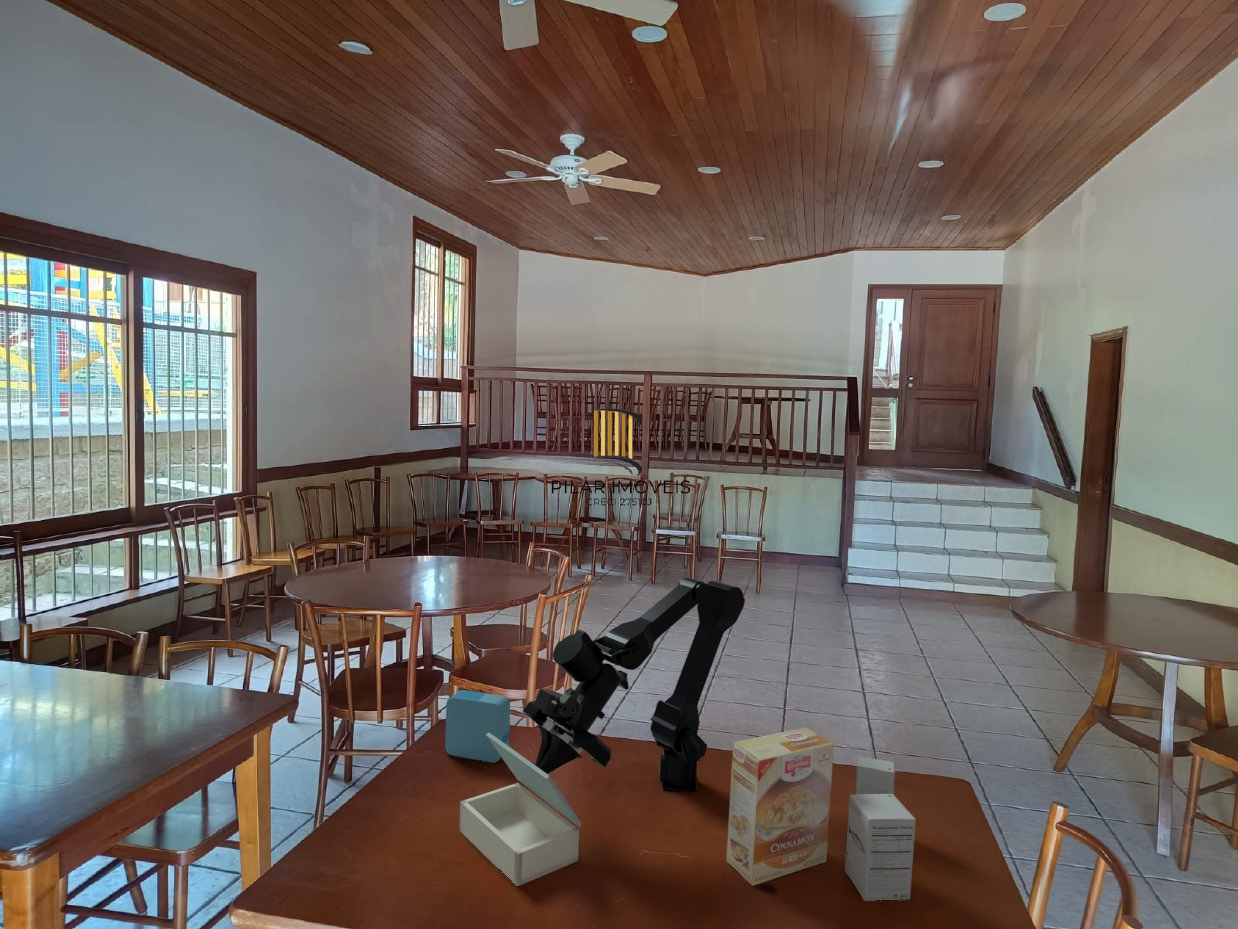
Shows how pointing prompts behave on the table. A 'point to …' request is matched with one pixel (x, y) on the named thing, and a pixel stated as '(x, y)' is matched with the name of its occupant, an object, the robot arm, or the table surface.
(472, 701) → the blue rounded square block
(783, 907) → the table surface
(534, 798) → the cream box
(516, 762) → the box lid
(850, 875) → the supplement box
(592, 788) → the table surface
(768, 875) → the coffeecake box
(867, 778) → the skincare box
